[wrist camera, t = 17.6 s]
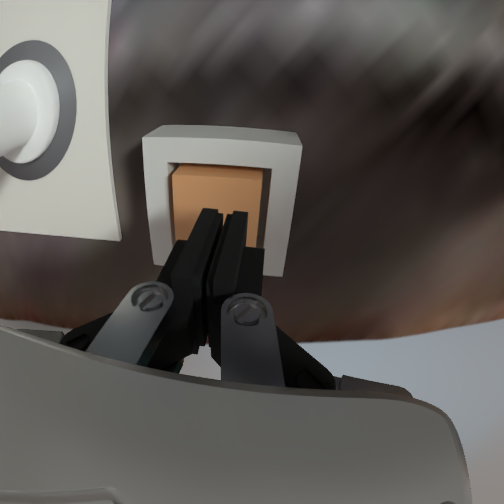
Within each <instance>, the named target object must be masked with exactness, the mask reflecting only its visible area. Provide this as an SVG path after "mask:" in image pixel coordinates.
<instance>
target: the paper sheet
mask: <svg viewBox="0 0 504 504" xmlns="http://www.w3.org/2000/svg"><path fill="white" fill-rule="evenodd" d="M111 3H112V0H0V74H1V72H2V71H3V70H4V69H5V68H6V67H8V66H9V65H11V64H13V63H15V62H17V61H22V60H34V61H37V62H39V63H41V64H42V65H44V66H45V67H46V68H47V69H48V70H49V72H50V73H51V75H52V77H53V79H54V81H55V83H56V86H57V89H58V94H59V103H60V112H59V121H58V126H57V130H56V133H55V136H54V138H53V140H52V142H51V144H50V145H49V147H48V148H47V149H46V151H45V152H44V153H43V154H42V155H40V156H39V157H38V158H36V159H34V160H33V161H30V162H27V163H14V162H12V161H9V160H8V159H6V158H5V157H4V156H2V157H0V230H1V231H12V232H23V233H34V234H45V235H56V236H67V237H78V238H89V239H100V240H112V241H120V240H121V239H122V234H121V228H120V222H119V216H118V209H117V202H116V194H115V186H114V178H113V169H112V158H111V147H110V133H109V114H108V43H109V26H110V13H111Z"/></svg>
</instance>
